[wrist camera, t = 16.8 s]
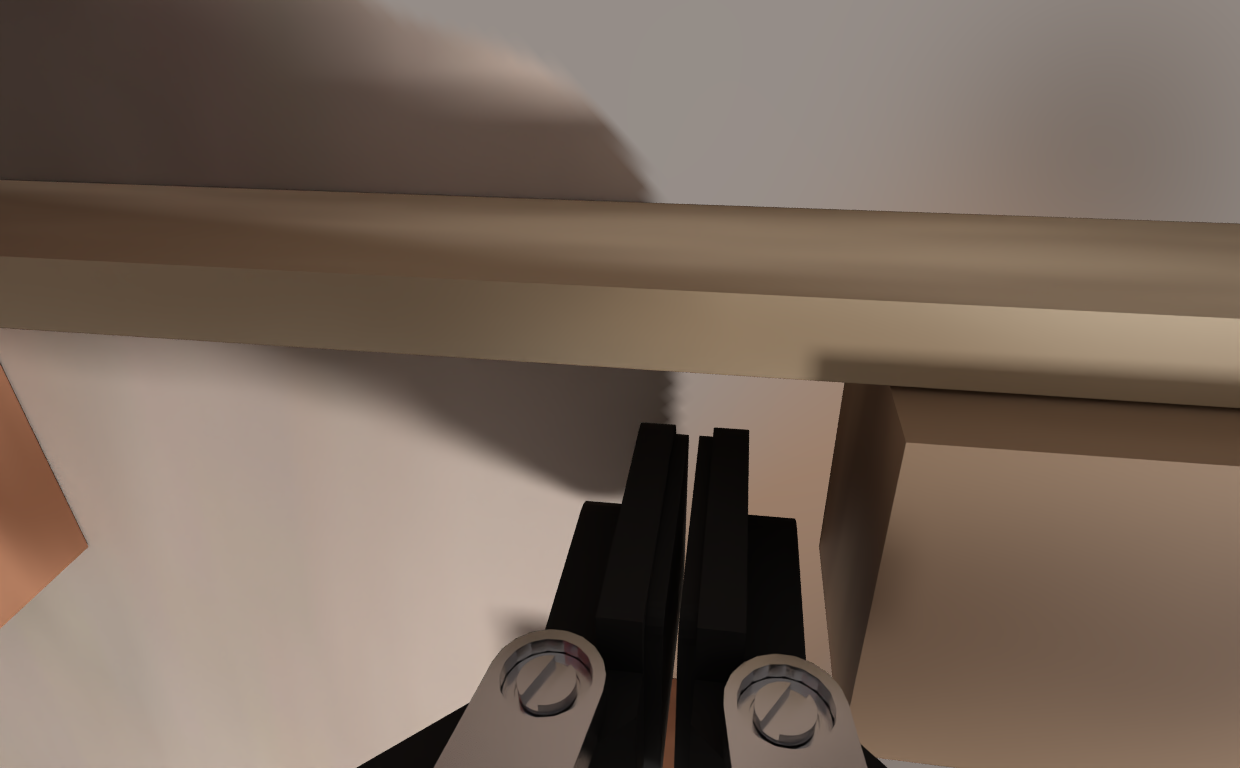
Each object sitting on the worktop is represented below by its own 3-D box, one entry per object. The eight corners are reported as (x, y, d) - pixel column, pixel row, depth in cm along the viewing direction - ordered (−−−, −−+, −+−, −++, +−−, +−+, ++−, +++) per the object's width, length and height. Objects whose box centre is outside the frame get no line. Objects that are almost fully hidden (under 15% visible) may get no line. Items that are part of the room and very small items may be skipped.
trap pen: (987, 1011, 21) (1019, 1163, 18) (10, 847, 25) (-75, 952, 22) (1395, 228, 10) (1626, 337, 7) (-504, 162, 14) (-793, 215, 11)
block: (1124, 573, 13) (1256, 806, 9) (819, 546, 14) (839, 752, 10) (1243, 300, 10) (1480, 483, 7) (859, 283, 11) (906, 442, 8)
